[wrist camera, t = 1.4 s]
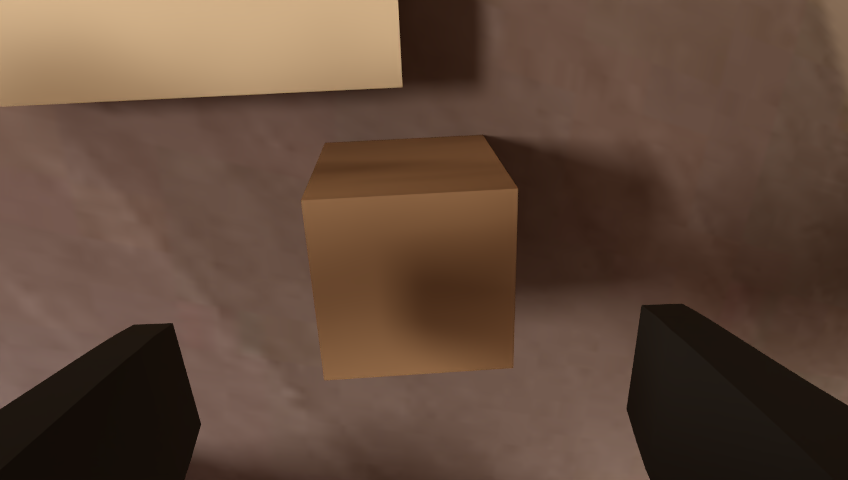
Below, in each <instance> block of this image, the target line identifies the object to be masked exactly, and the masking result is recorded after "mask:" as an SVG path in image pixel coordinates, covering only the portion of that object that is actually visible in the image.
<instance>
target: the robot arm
mask: <svg viewBox="0 0 848 480" xmlns="http://www.w3.org/2000/svg"><path fill="white" fill-rule="evenodd" d="M627 412H628V415H629V418H630V422H631V425H632V428H633V432H634V435H635V438H636V442H637V445H638V448H639V451H640V454H641V457H642V460H643V463H644V466H645V469H646V471H647V473H648V476H649V478H650V480H848V405H846V404H844V403H843V402H841V401H839V400H838V399H836V398H834V397H833V396H831V395H829V394H828V393H826V392H824V391H823V390H821V389H819V388H818V387H816V386H814V385H813V384H811V383H809V382H808V381H806V380H805V379H803V378H801V377H800V376H798V375H797V374H795V373H793V372H792V371H790V370H788V369H787V368H785V367H784V366H782V365H780V364H779V363H777V362H776V361H774V360H773V359H771V358H769V357H768V356H766V355H765V354H763V353H762V352H760V351H758V350H757V349H755V348H754V347H752V346H751V345H749V344H747V343H746V342H744V341H743V340H741V339H740V338H738V337H736V336H735V335H733V334H732V333H730V332H729V331H727V330H726V329H724V328H722V327H721V326H719V325H718V324H716V323H714V322H713V321H711V320H710V319H708V318H706V317H705V316H703V315H701V314H700V313H698V312H696V311H695V310H693V309H691V308H689V307H687V306H685V305H684V304H662V305H642V307H641V314H640V320H639V327H638V334H637V341H636V348H635V355H634V362H633V368H632V375H631V382H630V389H629V396H628V403H627ZM200 426H201V422H200V419H199V415H198V412H197V408H196V404H195V401H194V397H193V394H192V390H191V387H190V383H189V379H188V376H187V372H186V369H185V365H184V362H183V358H182V355H181V351H180V347H179V344H178V340H177V337H176V333H175V330H174V326H173V323H167V324H141V325H132V326H131V327H129V328H127V329H125V330H123V331H121V332H120V333H118V334H116V335H114V336H113V337H111V338H109V339H108V340H106V341H105V342H103V343H101V344H100V345H98V346H97V347H95V348H93V349H92V350H90V351H89V352H87V353H86V354H84V355H83V356H81V357H80V358H78V359H76V360H75V361H73V362H72V363H70V364H69V365H67V366H66V367H64V368H63V369H61V370H60V371H58V372H57V373H55V374H54V375H52V376H50V377H49V378H47V379H46V380H44V381H43V382H41V383H40V384H38V385H37V386H35V387H34V388H32V389H31V390H29V391H27V392H26V393H24V394H23V395H21V396H20V397H18V398H17V399H15V400H14V401H12V402H11V403H9V404H8V405H6V406H4V407H3V408H1V409H0V480H184V479H185V476H186V473H187V470H188V467H189V464H190V460H191V457H192V454H193V450H194V447H195V443H196V440H197V436H198V433H199V430H200Z"/></svg>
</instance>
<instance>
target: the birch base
mask: <svg viewBox="0 0 848 480" xmlns="http://www.w3.org/2000/svg"><path fill="white" fill-rule="evenodd" d="M396 87H402V68H401V49H400V30H399V10H398V0H0V107H3V106H24V105H45V104H65V103H86V102H107V101H127V100H148V99H169V98H190V97H210V96H231V95H252V94H272V93H293V92H314V91H334V90H355V89H376V88H396Z"/></svg>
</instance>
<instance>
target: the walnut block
mask: <svg viewBox="0 0 848 480" xmlns="http://www.w3.org/2000/svg"><path fill="white" fill-rule="evenodd" d="M301 204H302V212H303V219H304V227H305V235H306V243H307V250H308V258H309V266H310V274H311V281H312V289H313V297H314V305H315V312H316V320H317V328H318V336H319V343H320V351H321V359H322V366H323V374H324V380H337V379H352V378H367V377H382V376H397V375H413V374H428V373H443V372H458V371H473V370H488V369H504V368H513V356H514V320H515V284H516V247H517V211H518V188H517V186H516V185H515V183H514V182H513V180H512V179H511V177H510V176H509V174H508V173H507V171H506V169H505V168H504V166H503V165H502V163H501V162H500V160H499V159H498V157H497V156H496V154H495V153H494V151H493V150H492V148H491V147H490V145H489V144H488V142H487V141H486V139H485V138H484V136H483V135H471V136H451V137H431V138H412V139H392V140H372V141H352V142H333V143H325V144H324V147H323V149H322V152H321V154H320V156H319V159H318V161H317V164H316V166H315V168H314V171H313V173H312V175H311V178H310V180H309V183H308V185H307V187H306V190H305V192H304V195H303V197H302V199H301Z"/></svg>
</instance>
